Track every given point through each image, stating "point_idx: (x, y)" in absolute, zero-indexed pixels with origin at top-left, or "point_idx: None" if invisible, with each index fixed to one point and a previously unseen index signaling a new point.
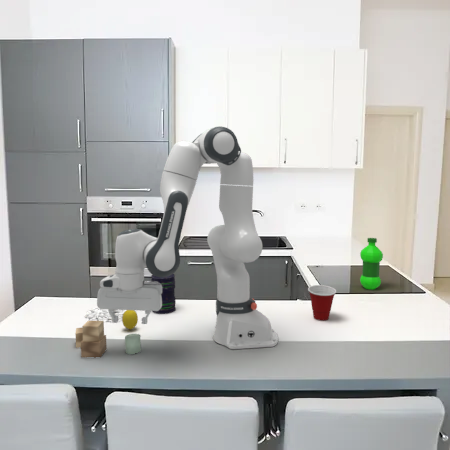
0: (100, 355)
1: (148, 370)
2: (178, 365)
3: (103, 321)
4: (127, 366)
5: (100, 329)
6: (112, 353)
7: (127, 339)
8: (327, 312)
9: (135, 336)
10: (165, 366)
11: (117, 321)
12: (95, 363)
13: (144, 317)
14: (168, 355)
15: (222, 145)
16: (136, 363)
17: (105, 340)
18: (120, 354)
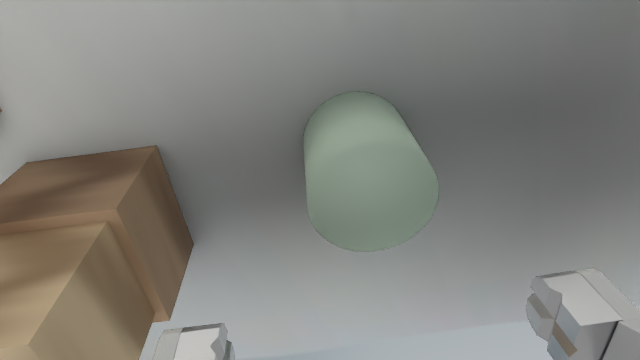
0: (190, 249)
1: (489, 300)
2: (634, 243)
3: (33, 338)
4: (383, 290)
5: (105, 356)
6: (232, 189)
7: (348, 249)
8: None
9: (397, 195)
10: (568, 261)
11: (224, 340)
12: (210, 294)
13: (602, 336)
14: (592, 154)
15: None
16: (419, 261)
17: (138, 202)
18: (289, 192)
